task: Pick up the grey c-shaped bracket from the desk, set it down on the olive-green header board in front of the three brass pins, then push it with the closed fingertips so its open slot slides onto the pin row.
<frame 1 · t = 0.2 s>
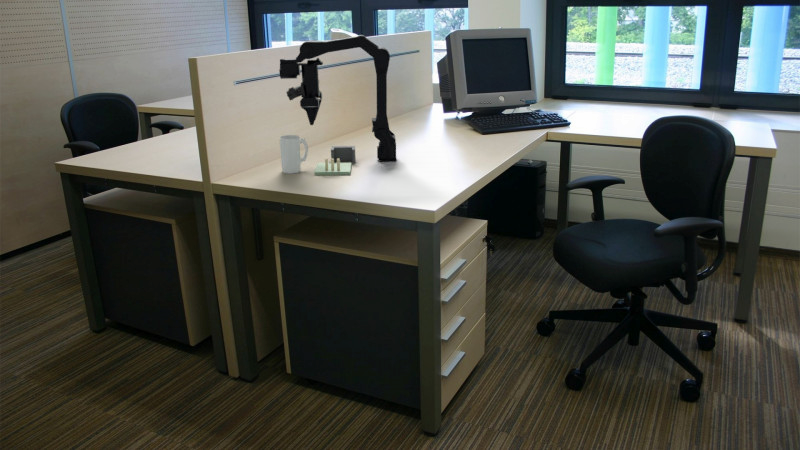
hand: (312, 122, 237), 14 cm above the table, fingers open, 9 cm apart
header board: (333, 170, 229), on the table
mug: (295, 171, 228), on the table
grey c-shaped bracket: (343, 161, 240), on the table
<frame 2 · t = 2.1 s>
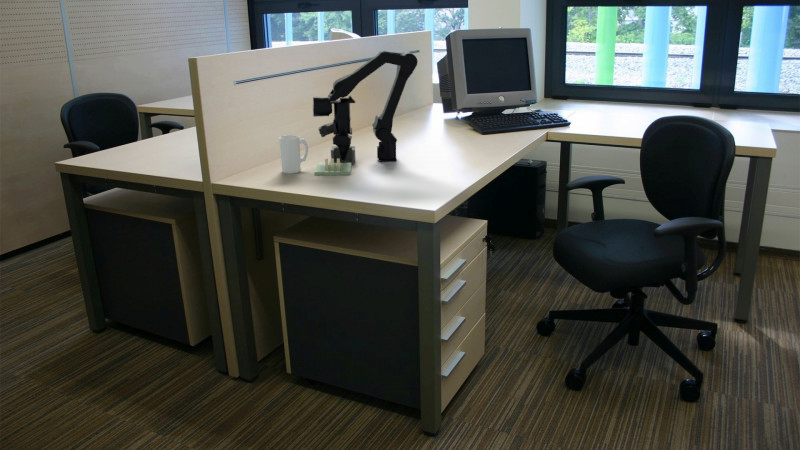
hand: (343, 158, 240), 1 cm above the table, fingers open, 4 cm apart
grey c-shaped bracket: (343, 161, 239), on the table, touching gripper
everything else where it was.
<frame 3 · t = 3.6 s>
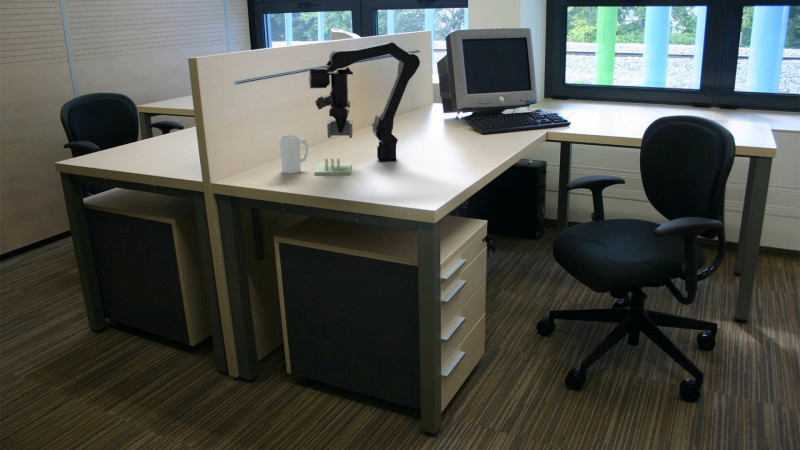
hand: (340, 131, 235), 11 cm above the table, fingers closed on grey c-shaped bracket, 2 cm apart
grey c-shaped bracket: (340, 135, 234), point 10 cm above the table, touching gripper
everything else where it was.
when the fingers open (4 cm above the table, at t = 5.0 s): grey c-shaped bracket drops 1 cm, resting on header board.
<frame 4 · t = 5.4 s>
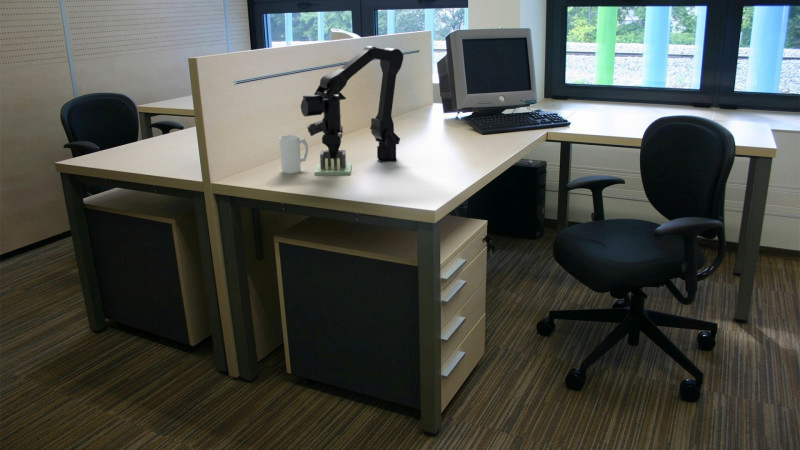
hand: (333, 158, 230), 3 cm above the table, fingers open, 7 cm apart
grey c-shaped bracket: (333, 166, 230), point 1 cm above the table, touching header board
everything else where it was.
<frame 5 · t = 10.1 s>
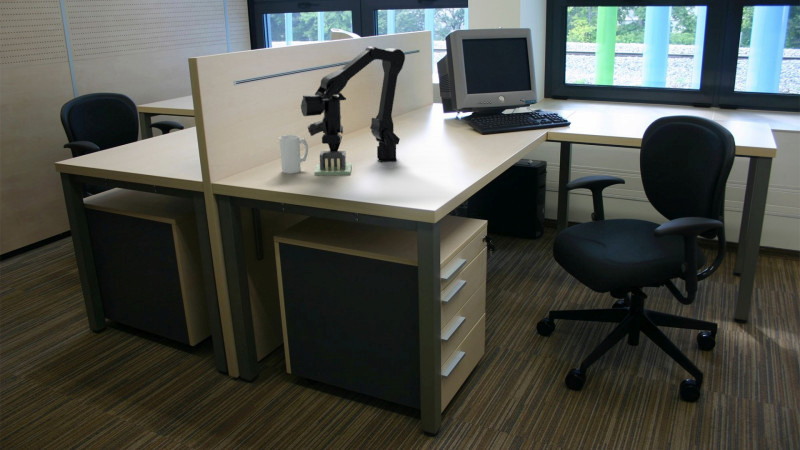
hand: (333, 157, 232), 3 cm above the table, fingers closed
grey c-shaped bracket: (333, 167, 228), point 1 cm above the table, touching gripper
everything else where it was.
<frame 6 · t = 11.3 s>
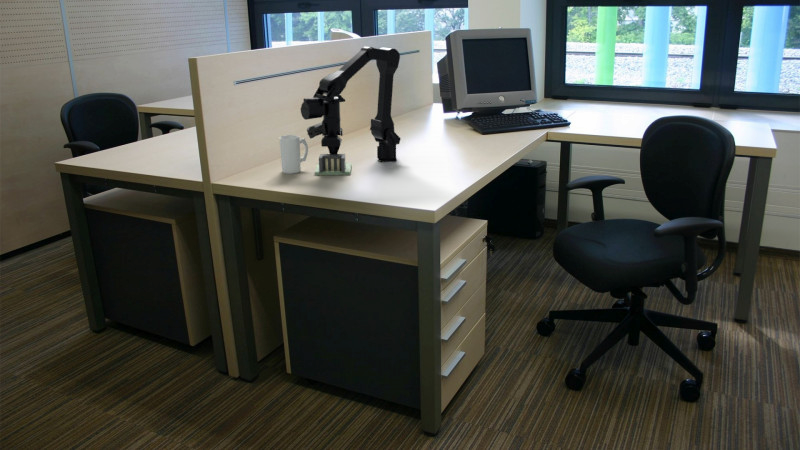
hand: (333, 160, 228), 3 cm above the table, fingers closed
grey c-shaped bracket: (332, 170, 225), point 1 cm above the table, touching gripper, header board
everything else where it was.
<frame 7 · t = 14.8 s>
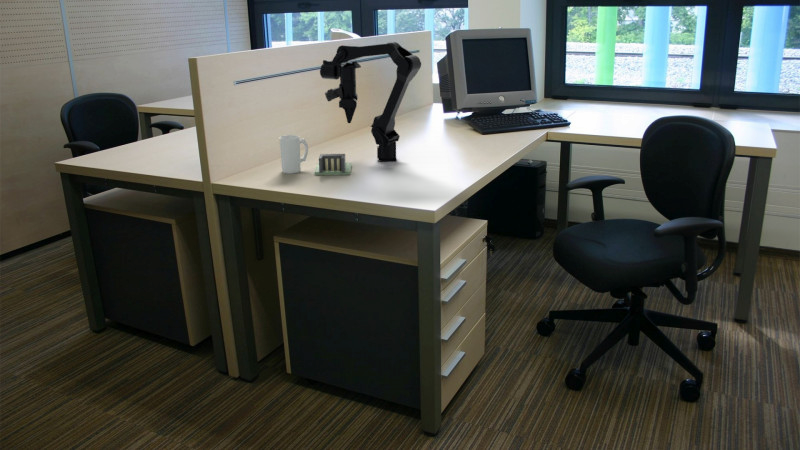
hand: (349, 123, 245), 12 cm above the table, fingers closed
grey c-shaped bracket: (332, 170, 225), point 1 cm above the table, touching header board
everything else where it was.
at the end: grey c-shaped bracket 0.5 cm from the target spot, point 1.0 cm above the table; grey c-shaped bracket tilted 0° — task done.
